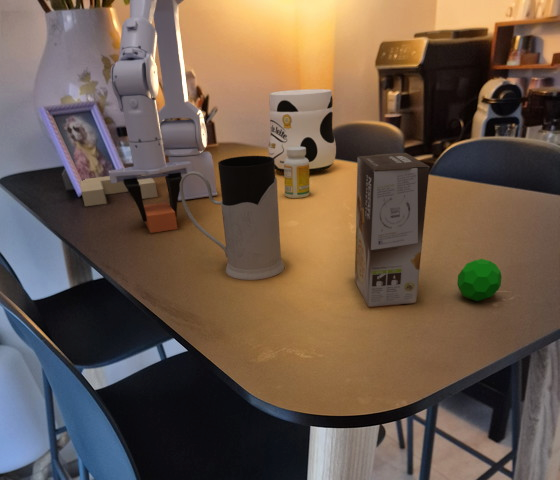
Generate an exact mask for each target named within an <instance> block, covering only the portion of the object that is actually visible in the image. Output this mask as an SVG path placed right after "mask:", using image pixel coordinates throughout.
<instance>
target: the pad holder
mask: <svg viewBox="0 0 560 480" xmlns="http://www.w3.org/2000/svg"><path fill="white" fill-rule="evenodd" d="M142 176H143V175H142ZM84 179H85V180H83V181H81V182H80V181H79V186H80V192H81V196H82V200H83V203H84V207H86V208H87V207H91V206H100V205H108V200H107V195H112V194H120V193H121V194H122V193H127V192H128V193H130V192H129V191H128V189H127V188H126V186H125V184H124V182H118V183H114V184H112V183H111V180H110V176H109V175H105V176H97V177H89V178H84ZM138 182H139V185H140V187H141V194H142V200H145V199H152V198H158V191H157V185H156V182H155V180H154V178H148V179H140V180H138Z"/></svg>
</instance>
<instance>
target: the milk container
mask: <svg viewBox="0 0 560 480" xmlns="http://www.w3.org/2000/svg"><path fill="white" fill-rule="evenodd" d="M333 101H334V99H333V91H332V89H326V88H322V89H321V88H307V89H305V88H304V89H291V90H289V89H288V90H280V91H272V92H270V94H269V104H268V106H269V124H270V136H269V142H268V148H267V153H268V157H272V158H274V162H275V171H279V172H282V173H284V161H285V160H286V159H287V158H288V156H287V148H289V147H297V146H300V147H305V148H306V155H305V158H307V159H308V160H309V174H310V173H316V172H321V171H323V170H326V169H329V168H330V167H331V166H332V165H334V163H335V160H336V155H337V145H336V139H335V134H334V129H333V128H334V127H333V119H334V117H333V116H334V115H333V113H334V109H333V106H334V105H333V103H334V102H333Z"/></svg>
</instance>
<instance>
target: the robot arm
mask: <svg viewBox="0 0 560 480" xmlns="http://www.w3.org/2000/svg"><path fill="white" fill-rule="evenodd" d="M184 1H185V0H129V18H127V19H125V20H124V21H123V22H122V26H121V34H120V43H119V53H118V60H116V62H115V63H114V64H112V65H111V68H110V84H111V88H112V91H113V93H114V95H115V97H116V100H117V104H118V109H119V111H120V112H121V113H123V118H124V119H123V120H124V124H125V129H126V134H127V138H128V143H129V149H130V154H131V155H130V156H131V159H132V165H133V166H128V167H123V168H116V169H111V170H108V176H110V180H111V183H112V184H114V183H118V182H124V184H125V186H126V188H127V189H128V191H129V192H128V193H129V194H130V196H131V197H132V199H133V201H134V202H135V204H136V206H137V208H138V210H139V213H140V216H141V220H142V222H144V223H145V222H146V221H147V219H146V213H145V209H144V205H145V204H144V201H143V200H144V199H142V194H141V187H140V185H139V182H138V180H140V179H148V178H152V179H156V178H163V177H164V178H165V183H166V187H167V194H168V199H169V205H170V206H171V207H172V209H173V210H174V211H175V216H176V218H177V217H178V214H177V213H178V202H179V201H180V202H181V201H182V199H181V195H180V182H181V179H182V177H183V176H184V175H185V174H187V173H189V172H199V173H201V174H203V175H204V176H205V177H206V178H207V179H208V181H209V184H210V186H211V191H212V197H215V196H218V195H219V194H218V191H217V190H218V189H217V183H216V182H217V181H216V174H215V173H216V172H215V165H214V160H213V156H212V154H211V152H210V151H205V149H206V148H207V146H208V133H207V126H206V123H205V117H204V114H203V111H202V110H200V109H199V108H198V107H197V106H195V105H194V104H193V103H191V102H190V101H189V96H188V87H187V79H186V70H185V61H184V52H183V44H182V43H183V42H182V38H181V37H182V36H181V28H180V20H179V5H180V4H181V3H183V2H184ZM153 23H154V25H153ZM156 51H158V52H156ZM157 53H158V59H159V66H160V67H159V68H160V73H161V82H162V89H163V96H164V105H163V106H162V107H161V108H160V109H159V110H158V105H157V99H156V98H158V96H159V90H160V85H159V76H158V66H157V64H156V54H157ZM183 118H184V119H183ZM169 119H174V120H169ZM178 119H180V120H178ZM166 156H167V157H168V158H167V159H168V162H167V160H166ZM142 175H143V176H142ZM183 192H184V197H185V201H186V200H193V199H194V200H195V199H200V198H209V194H208V189H207V186H206V183H205V182H204V180H203V179H202V178H201V177H199V176H198V175H189V176H187V177H186V178H185V179H184V182H183Z"/></svg>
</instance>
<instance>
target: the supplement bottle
mask: <svg viewBox="0 0 560 480" xmlns="http://www.w3.org/2000/svg"><path fill="white" fill-rule="evenodd" d="M305 155H306V148H305V147H300V146H297V147H289V148H287V156H288V158H287V159H286V160H285V161H284V172H283V180H284V196H285V197H287V198H289V199H301V198H306V197H308V196H309V195H310V173H309V160H308V159H307V158H305Z"/></svg>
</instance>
